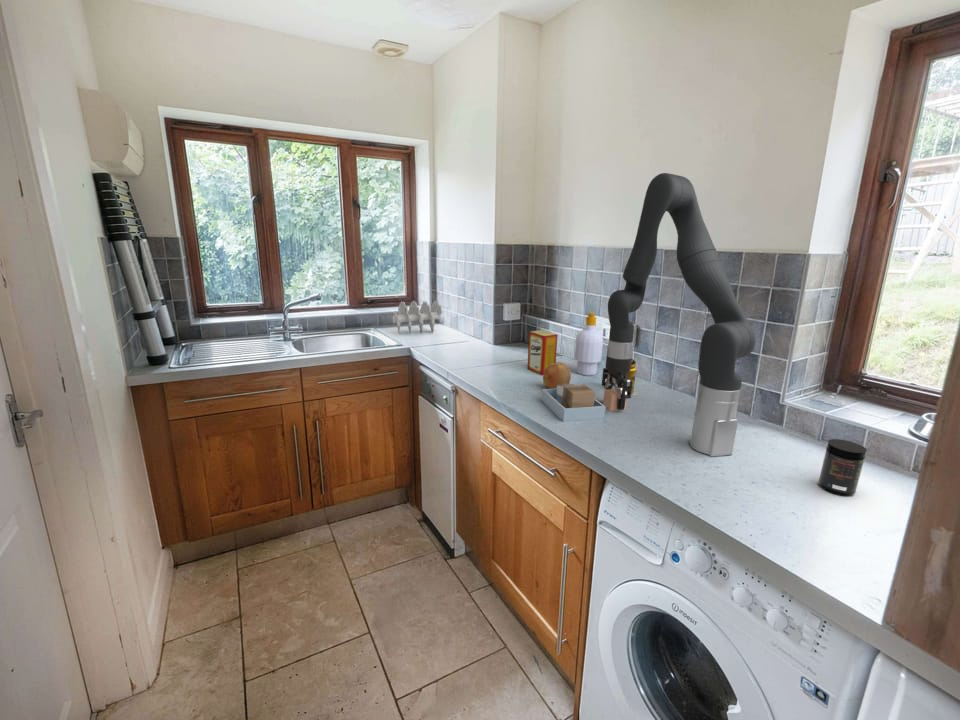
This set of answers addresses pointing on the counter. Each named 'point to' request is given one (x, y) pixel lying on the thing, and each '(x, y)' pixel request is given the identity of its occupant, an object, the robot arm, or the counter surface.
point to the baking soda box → (541, 350)
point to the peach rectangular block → (611, 399)
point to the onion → (556, 375)
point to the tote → (572, 413)
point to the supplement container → (842, 467)
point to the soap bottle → (588, 347)
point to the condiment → (632, 376)
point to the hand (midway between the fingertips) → (613, 404)
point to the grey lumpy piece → (417, 314)
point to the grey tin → (560, 392)
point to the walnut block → (577, 396)
